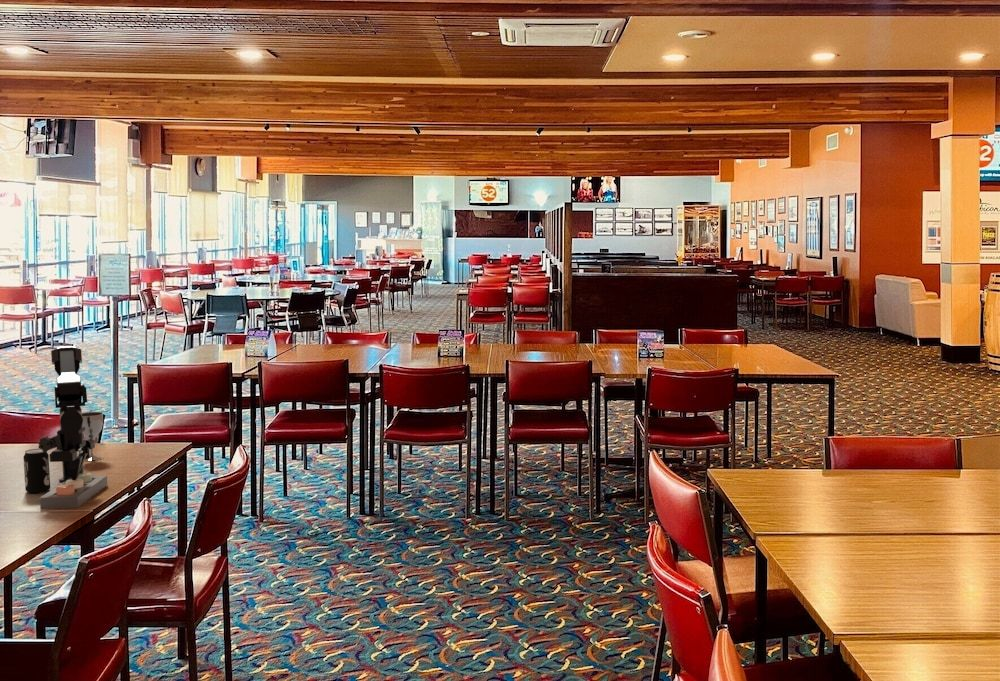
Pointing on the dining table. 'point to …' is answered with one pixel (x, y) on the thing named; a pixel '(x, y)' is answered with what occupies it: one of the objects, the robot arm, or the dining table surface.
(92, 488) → the egg tray
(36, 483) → the beverage can
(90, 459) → the wine glass
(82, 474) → the pale green egg
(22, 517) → the dining table surface
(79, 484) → the beige domed piece
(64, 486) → the orange rounded dome
